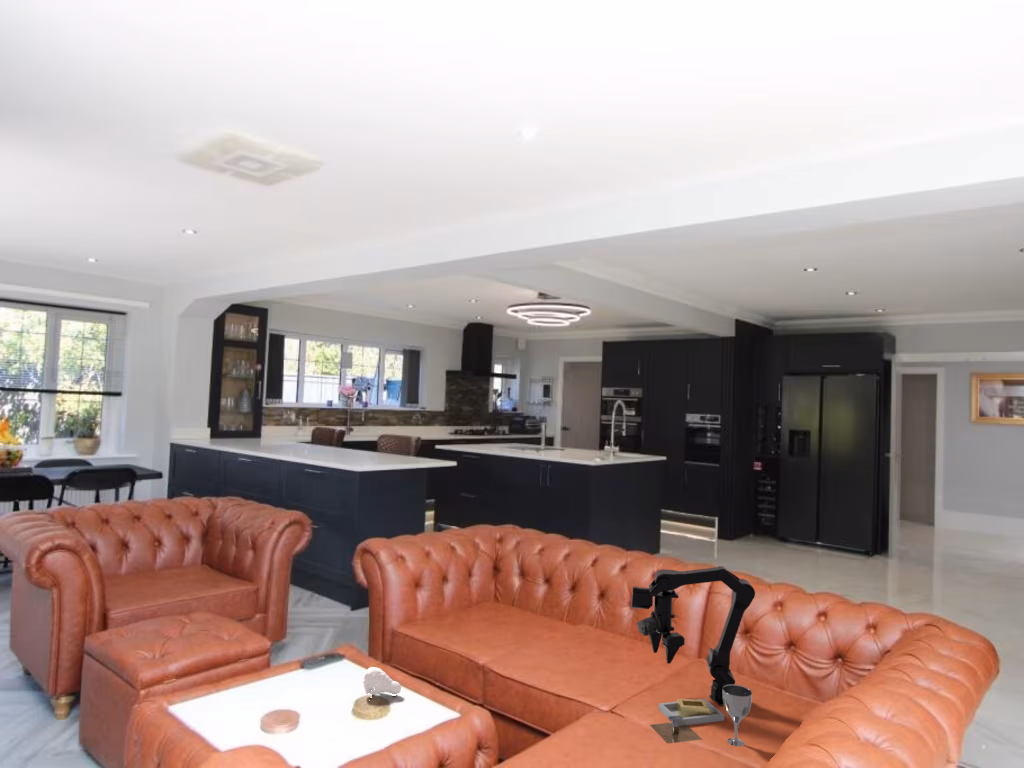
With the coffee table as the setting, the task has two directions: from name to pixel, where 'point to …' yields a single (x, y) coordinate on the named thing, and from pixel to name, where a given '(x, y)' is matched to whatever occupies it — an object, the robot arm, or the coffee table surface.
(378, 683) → the grey lumpy shape
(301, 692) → the coffee table surface
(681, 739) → the brown peg base plate
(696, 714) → the gold hollow rectangular block
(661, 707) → the tray
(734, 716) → the wine glass
